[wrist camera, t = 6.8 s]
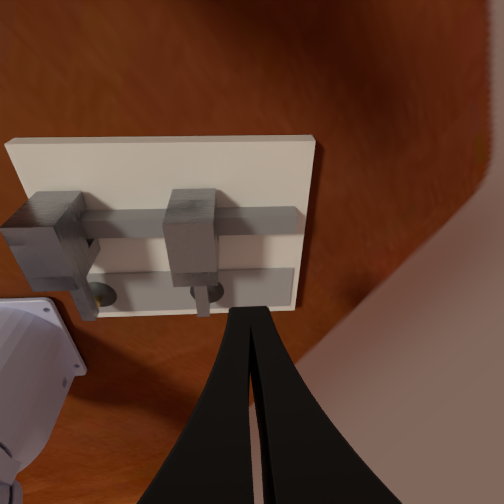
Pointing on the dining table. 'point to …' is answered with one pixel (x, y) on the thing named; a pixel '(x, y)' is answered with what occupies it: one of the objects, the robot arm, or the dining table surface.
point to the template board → (155, 204)
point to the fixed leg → (55, 247)
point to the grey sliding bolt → (193, 242)
